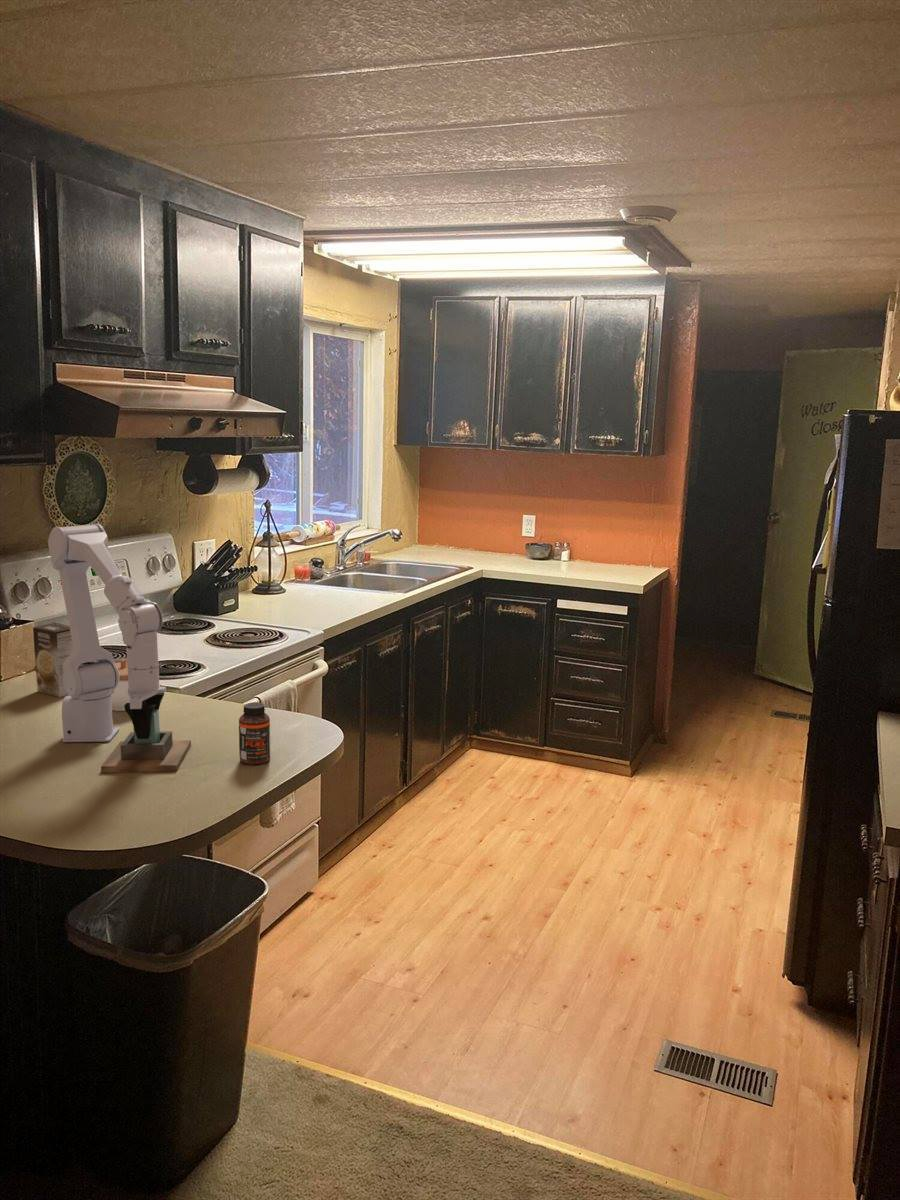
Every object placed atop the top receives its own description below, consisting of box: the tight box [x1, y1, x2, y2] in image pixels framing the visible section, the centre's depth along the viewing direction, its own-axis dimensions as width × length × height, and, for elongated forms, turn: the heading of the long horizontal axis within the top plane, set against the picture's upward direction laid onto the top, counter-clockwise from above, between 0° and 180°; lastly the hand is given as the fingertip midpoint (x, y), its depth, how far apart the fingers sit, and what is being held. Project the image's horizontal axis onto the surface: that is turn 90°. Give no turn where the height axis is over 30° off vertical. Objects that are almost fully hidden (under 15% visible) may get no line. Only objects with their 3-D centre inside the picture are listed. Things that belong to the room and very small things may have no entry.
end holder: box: [100, 730, 192, 773], centre depth 188 cm, size 14×14×4 cm
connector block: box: [132, 708, 161, 744], centre depth 187 cm, size 4×4×8 cm
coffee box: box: [32, 622, 74, 698], centre depth 231 cm, size 9×6×16 cm
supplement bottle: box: [238, 701, 271, 766], centre depth 187 cm, size 6×6×11 cm
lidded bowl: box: [111, 658, 130, 712], centre depth 220 cm, size 13×13×11 cm
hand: (146, 733), depth 187 cm, fingers open, 5 cm apart
